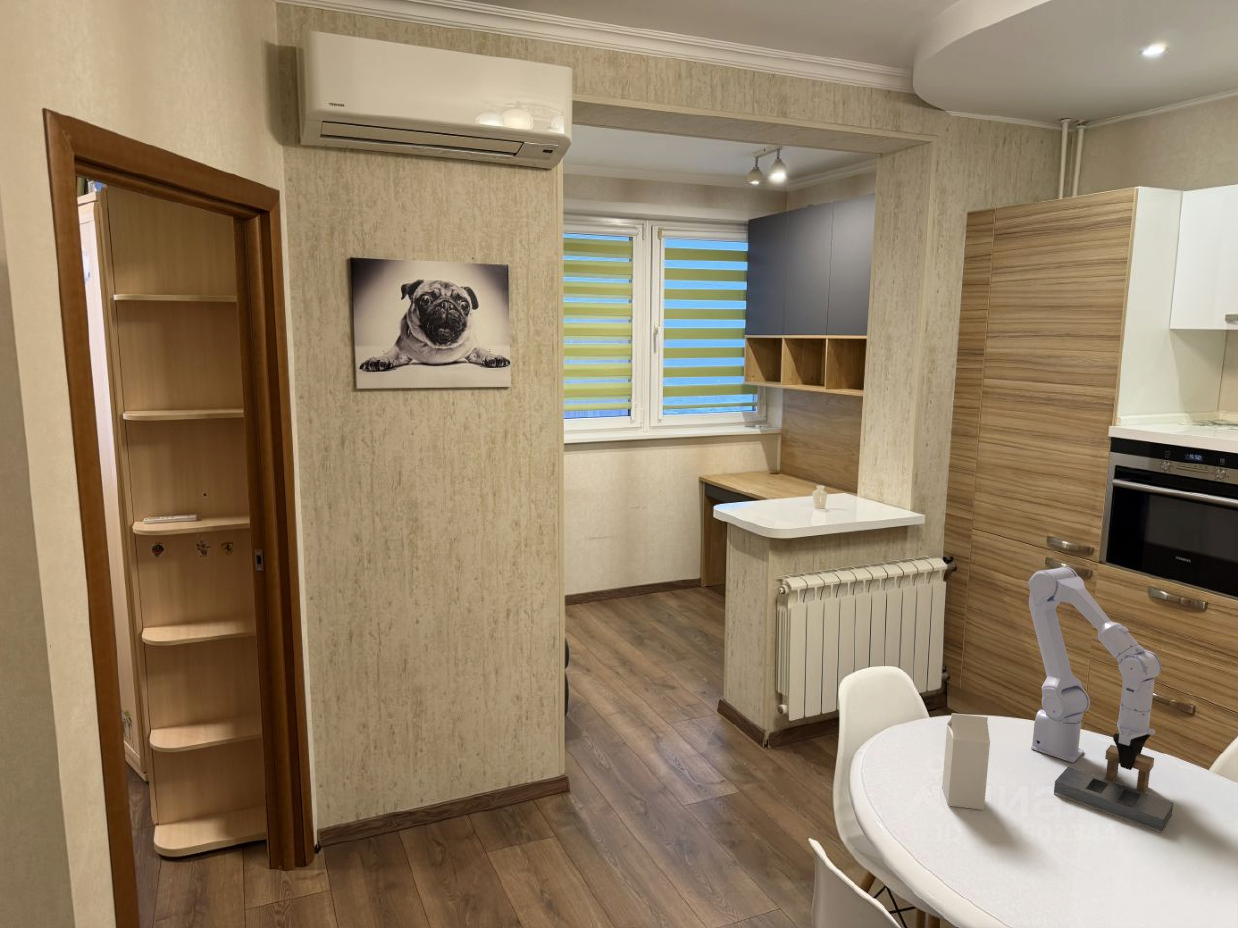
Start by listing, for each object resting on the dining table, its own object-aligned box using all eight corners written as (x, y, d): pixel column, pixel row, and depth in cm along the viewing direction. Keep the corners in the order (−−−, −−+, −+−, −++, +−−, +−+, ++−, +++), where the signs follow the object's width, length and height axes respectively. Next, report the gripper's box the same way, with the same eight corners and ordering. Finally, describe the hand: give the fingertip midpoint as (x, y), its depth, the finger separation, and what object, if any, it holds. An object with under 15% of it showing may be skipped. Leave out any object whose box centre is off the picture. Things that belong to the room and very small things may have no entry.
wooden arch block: (1102, 779, 184) (1106, 750, 183) (1107, 773, 187) (1111, 744, 186) (1146, 794, 179) (1149, 764, 178) (1150, 787, 181) (1154, 757, 180)
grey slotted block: (1053, 793, 178) (1055, 780, 178) (1066, 778, 184) (1068, 766, 184) (1161, 833, 164) (1163, 819, 164) (1171, 815, 171) (1173, 802, 170)
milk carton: (984, 810, 171) (991, 724, 168) (947, 806, 173) (954, 720, 170) (976, 792, 178) (983, 709, 175) (941, 788, 180) (948, 706, 177)
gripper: (1148, 722, 172) (1141, 783, 174) (1164, 701, 183) (1157, 759, 185) (1110, 711, 177) (1104, 770, 179) (1128, 692, 187) (1122, 748, 189)
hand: (1128, 764), depth 182 cm, fingers closed on wooden arch block, 4 cm apart
